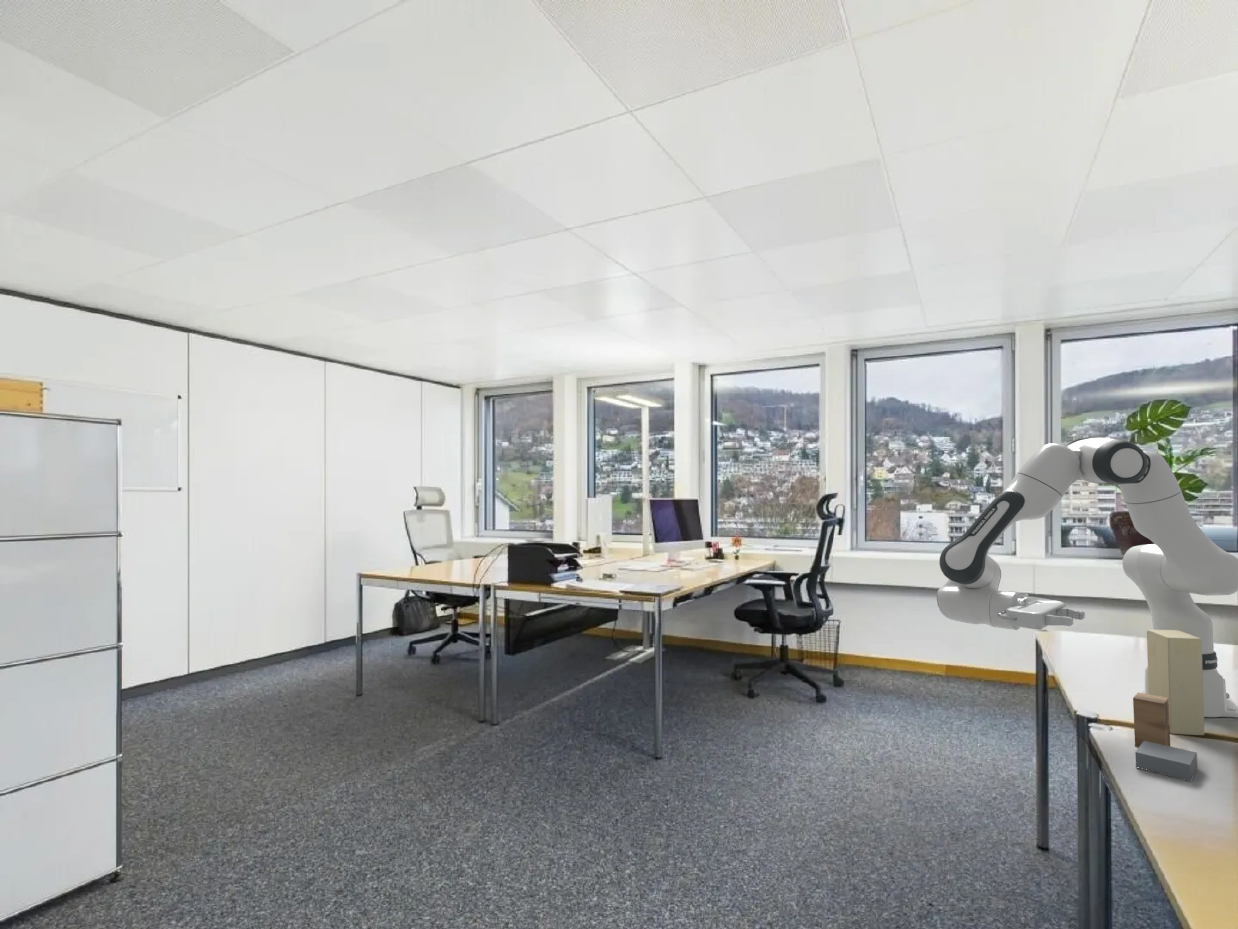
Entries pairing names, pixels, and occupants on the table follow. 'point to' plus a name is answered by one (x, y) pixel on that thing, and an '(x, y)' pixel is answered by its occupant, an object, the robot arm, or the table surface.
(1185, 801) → the table surface
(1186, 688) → the tall pale wood block
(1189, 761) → the base brick
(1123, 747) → the table surface
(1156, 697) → the walnut brick
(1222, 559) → the robot arm
